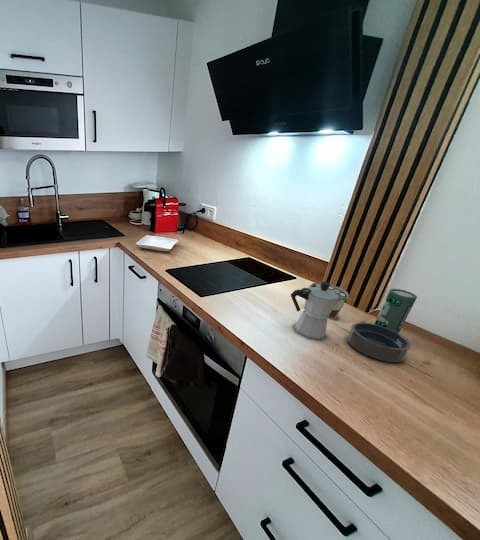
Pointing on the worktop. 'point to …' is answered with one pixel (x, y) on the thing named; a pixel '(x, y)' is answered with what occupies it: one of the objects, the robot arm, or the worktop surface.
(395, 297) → the can
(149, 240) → the plate
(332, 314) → the food container
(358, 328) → the basin
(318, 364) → the worktop surface
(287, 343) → the worktop surface
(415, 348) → the worktop surface
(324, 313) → the coffee maker
